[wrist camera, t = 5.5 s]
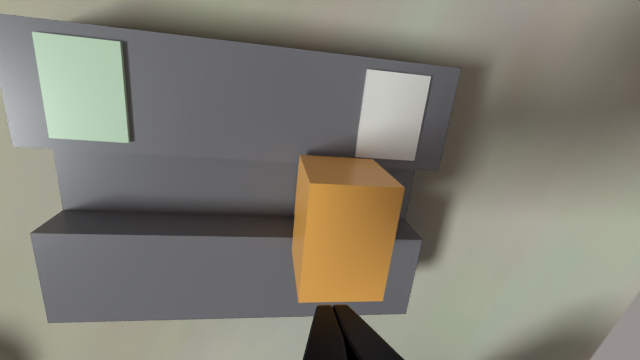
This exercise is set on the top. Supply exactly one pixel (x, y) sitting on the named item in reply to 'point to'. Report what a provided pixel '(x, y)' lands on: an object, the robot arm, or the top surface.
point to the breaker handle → (343, 229)
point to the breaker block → (202, 163)
